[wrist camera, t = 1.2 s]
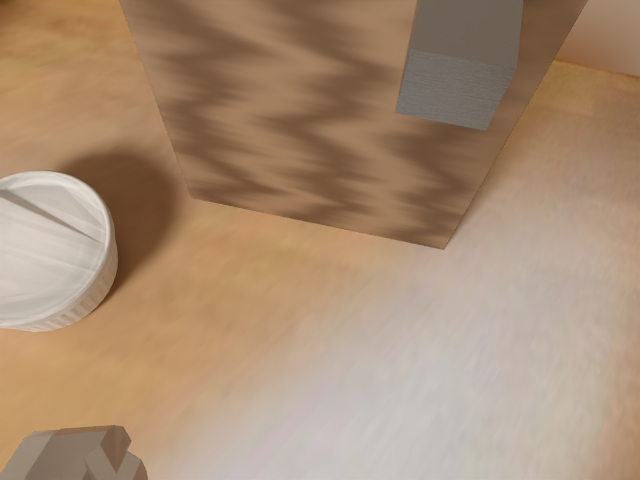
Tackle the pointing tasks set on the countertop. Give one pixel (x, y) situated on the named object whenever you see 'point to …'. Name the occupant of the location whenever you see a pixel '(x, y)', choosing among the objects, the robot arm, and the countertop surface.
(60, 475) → the robot arm
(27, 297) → the ramekin
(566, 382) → the countertop surface
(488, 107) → the paddle lever
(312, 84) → the panel block
